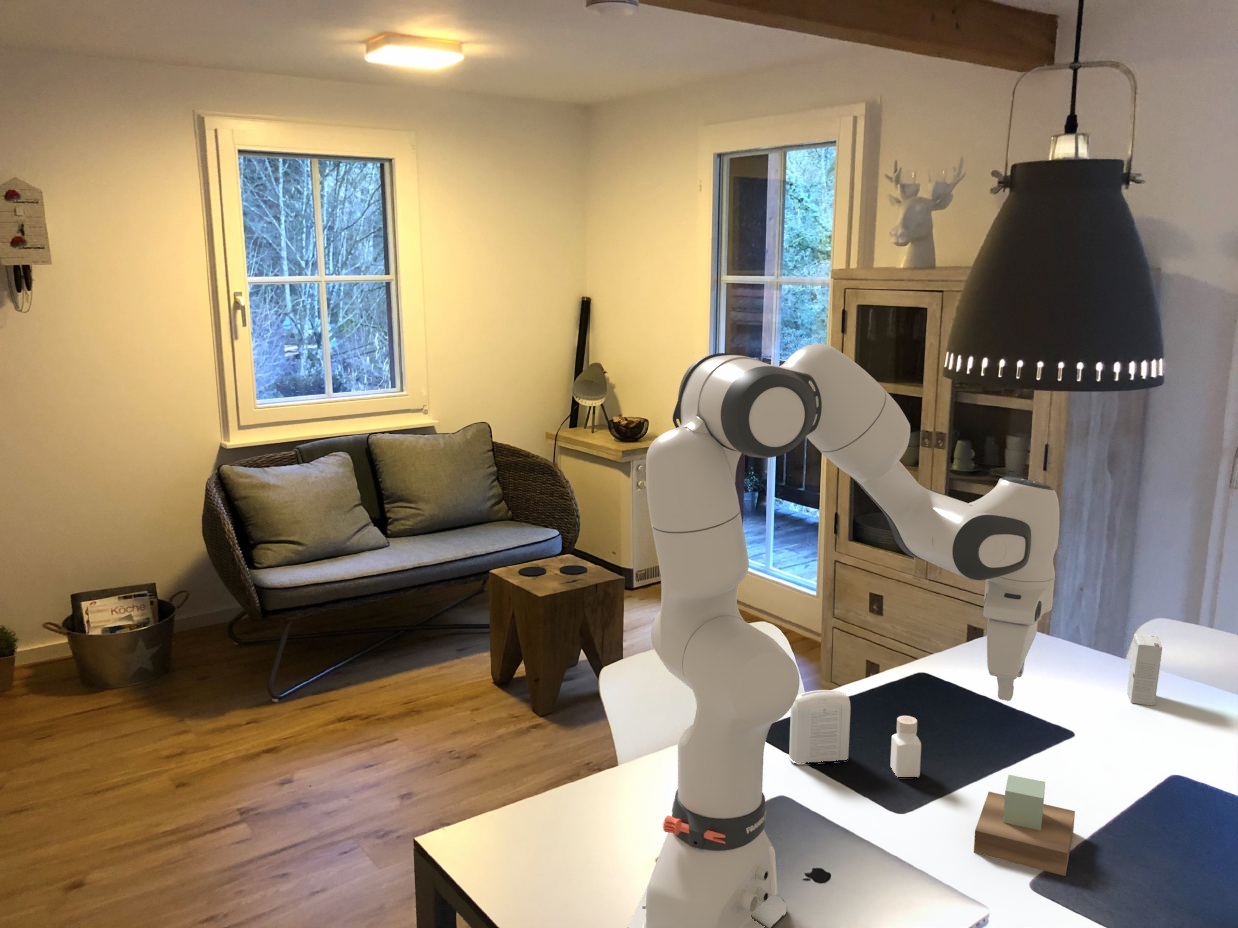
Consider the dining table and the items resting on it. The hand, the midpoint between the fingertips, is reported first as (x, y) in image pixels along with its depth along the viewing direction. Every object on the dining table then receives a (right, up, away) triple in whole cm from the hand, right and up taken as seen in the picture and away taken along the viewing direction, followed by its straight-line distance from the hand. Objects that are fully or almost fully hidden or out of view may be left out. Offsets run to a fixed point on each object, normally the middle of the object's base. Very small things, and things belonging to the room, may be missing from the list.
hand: (1010, 686), depth 139 cm
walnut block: (+3, -24, +4) cm, 24 cm away
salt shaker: (-8, -20, +23) cm, 32 cm away
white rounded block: (-21, -19, +29) cm, 40 cm away
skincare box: (+45, -14, +50) cm, 69 cm away
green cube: (+3, -20, +4) cm, 20 cm away
